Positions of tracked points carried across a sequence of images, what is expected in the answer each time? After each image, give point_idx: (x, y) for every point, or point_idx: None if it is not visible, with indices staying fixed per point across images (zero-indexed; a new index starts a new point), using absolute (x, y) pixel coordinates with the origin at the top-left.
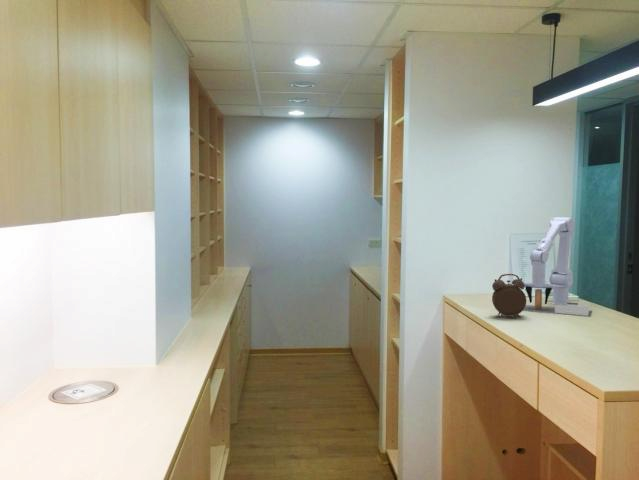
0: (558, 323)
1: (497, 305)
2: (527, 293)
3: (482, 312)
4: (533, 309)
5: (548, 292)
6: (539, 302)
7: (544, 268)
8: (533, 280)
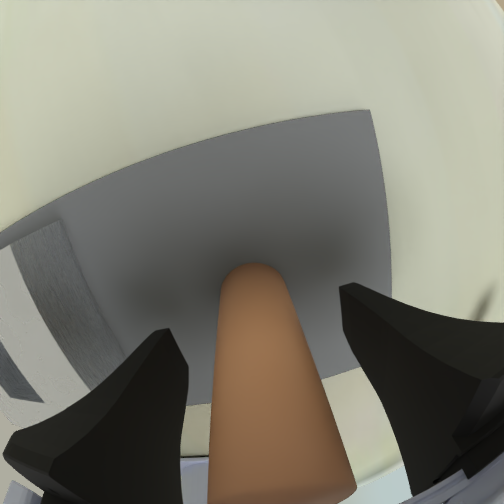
0: (9, 4)
1: None
2: (461, 319)
3: (482, 5)
4: (283, 241)
5: (38, 429)
6: (229, 313)
7: None
8: None
